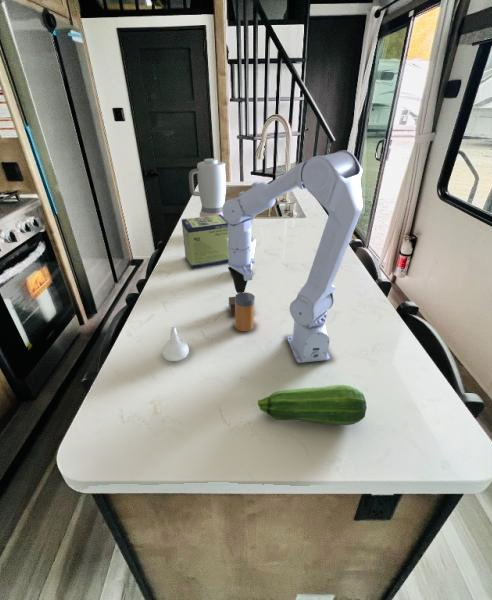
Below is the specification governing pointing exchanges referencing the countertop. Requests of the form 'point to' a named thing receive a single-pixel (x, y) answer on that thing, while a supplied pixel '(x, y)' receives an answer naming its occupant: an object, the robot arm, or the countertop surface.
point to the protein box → (205, 240)
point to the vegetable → (317, 405)
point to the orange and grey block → (244, 311)
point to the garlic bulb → (175, 347)
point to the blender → (210, 186)
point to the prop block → (232, 306)
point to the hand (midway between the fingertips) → (240, 291)
